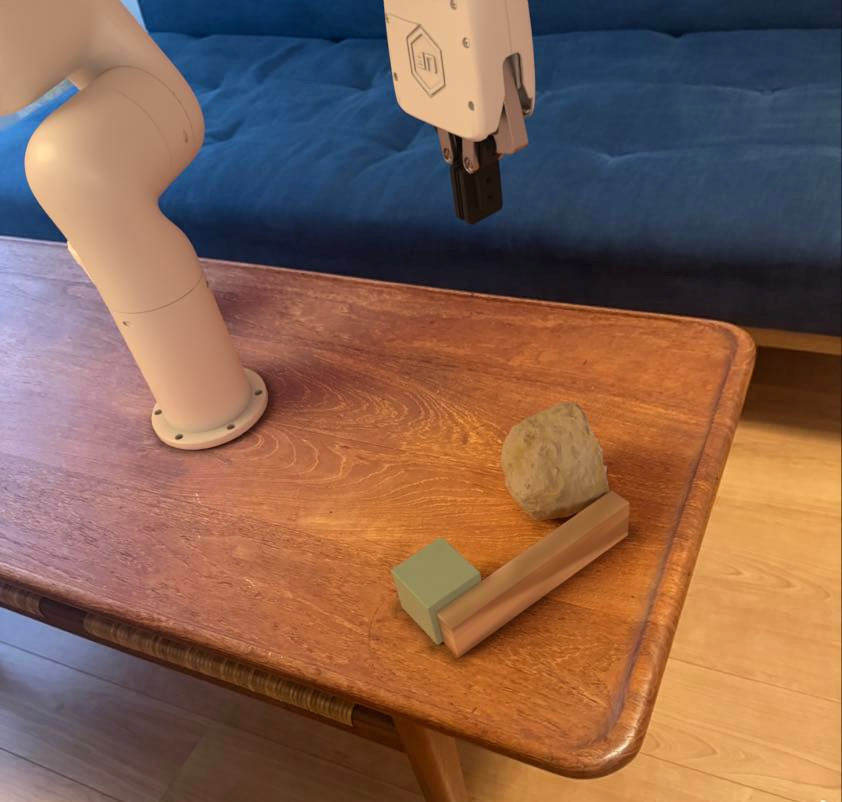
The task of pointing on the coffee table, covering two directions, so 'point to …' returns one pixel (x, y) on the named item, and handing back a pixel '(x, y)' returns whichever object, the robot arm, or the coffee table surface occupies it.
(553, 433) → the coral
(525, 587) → the straightedge
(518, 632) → the coffee table surface
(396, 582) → the block
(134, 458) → the coffee table surface
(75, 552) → the coffee table surface
